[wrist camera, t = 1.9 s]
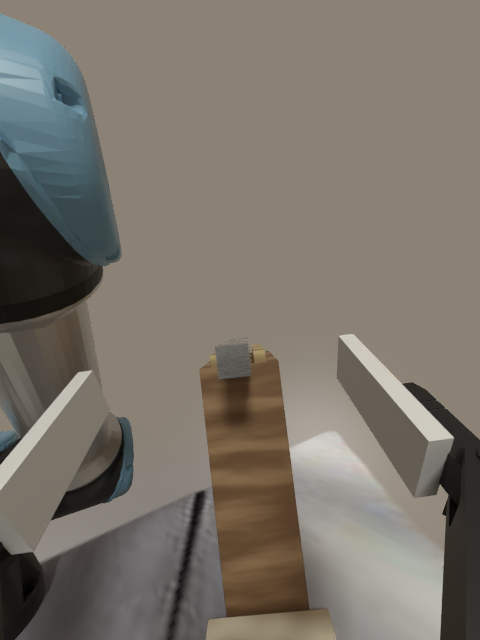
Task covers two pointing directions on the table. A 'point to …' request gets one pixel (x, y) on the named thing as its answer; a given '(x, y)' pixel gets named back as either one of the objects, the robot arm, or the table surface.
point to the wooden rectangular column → (253, 489)
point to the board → (274, 626)
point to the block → (233, 359)
